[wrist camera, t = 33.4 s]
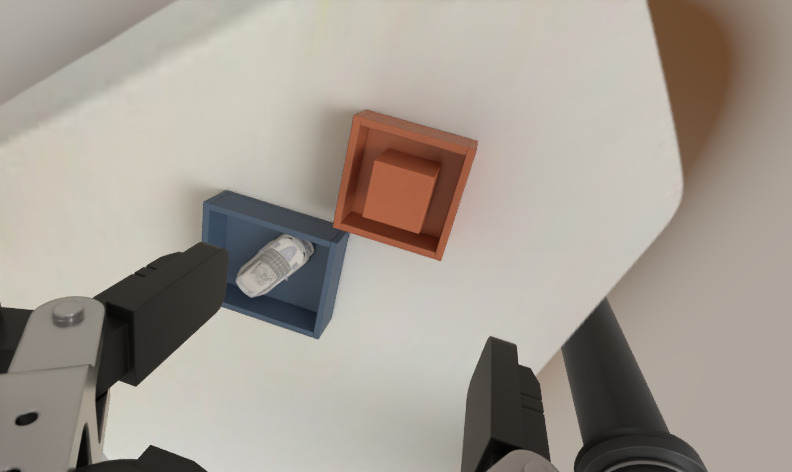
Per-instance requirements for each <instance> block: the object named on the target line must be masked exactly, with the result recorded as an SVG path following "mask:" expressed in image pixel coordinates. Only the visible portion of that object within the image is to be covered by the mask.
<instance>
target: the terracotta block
mask: <svg viewBox="0 0 792 472" xmlns="http://www.w3.org/2000/svg"><path fill="white" fill-rule="evenodd" d="M441 165H442V164H441V163H438V162H435V161H431V160H428V159H424V158H421V157H417V156H414V155H410V154H407V153H403V152H400V151H396V150H393V149H390V148H388V149H387V150H386V151H385V152H383V153H382V154H381V155H380V156H379V157H378V158H377V159H375V160H374V164H373V169H372V173H371V178H370V182H369V187H368V191H367V196H366V201H365V205H364V210H363V214H362V217H365V218H368V219H372V220H375V221H378V222H381V223H385V224H388V225H391V226H395V227H398V228H401V229H404V230H408V231H411V232H414V233H417V234H419V232H420V230H421V228H422V225H423V223H424V221H425V218H426V216H427V213H428V210H429V206H430V203H431V199H432V196H433V192H434V189H435V186H436V182H437V179H438V175H439V172H440V168H441Z"/></svg>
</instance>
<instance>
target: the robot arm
mask: <svg viewBox="0 0 792 472" xmlns="http://www.w3.org/2000/svg"><path fill="white" fill-rule="evenodd" d="M228 261H229V253H228V251H227V250H226V249H224V248H221V247H218V246H215V245H212V244H208V243H205V242H199V243H198V244H196V245H194V246H193V247H191V248H190V249H188V250H186V251H185V252H183V253H182V252H176V253H173V254H169V255H166V256H162V257H160V258H158V259H156V260H155V261H153V262H151V263H150V264H148V265H147V266H146V268H145V267H143V268H141V269H140V270H138V271H136V272H135V274H134V275H133V274H131V275H130V276H128V277H126V278H125V279H123V280H121V281H120V282H118V283H116V284H115V285H113V286H111V287H110V288H108V289H107V290H105V291H103V292H102V293H100V294H98V295H97V296H95V297H93V298H88V297H80V296H73V297H64V298H59V299H55V300H52V301H49V302H47V303H45V304H43V305H41V306H39V307H38V308H37V309H35V310H26V309H16V308H5V307H1V304H0V472H207V471H206V470H205V469H203V468H202V467H201V466H200V465H198V464H197V463H196V462H194V461H192V460H189V459H187V458H184V457H181V456H179V455H176V454H174V453H171V452H168V451H166V450H163V449H160V448H158V447H155V446H152V445H150V446H149V447H148V448H147V449H146V450H145V451H144V453H143V454H142V455H141V456H140V457H139V458H138V459H118V460H110V461H103V462H102V453H103V445H104V438H105V431H106V423H107V416H108V409H109V401H110V387H111V386H112V385H114V384H115V383H116V382H117V381H118V380H119V381H122V382H124V383H127V384H130V385H133V386H135V387H136V386H137V385H138V384H140V383H141V382H142V381H143V380H144V379H145V378H146V377H147V376H148V375H149V374H150V373H151V372H153V371H154V370H155V369H156V368H157V367H158V366H159V365H160V364H161V363H162V362H163V361H164V360H166V359H167V358H168V357H169V356H170V355H171V354H172V353H173V352H174V351H175V350H176V349H177V348H179V347H180V346H181V345H182V344H183V343H184V342H185V341H186V340H187V339H188V338H189V337H191V336H192V335H193V334H194V333H195V332H196V331H197V330H198V329H199V328H200V327H201V326H202V325H204V324H205V323H206V322H207V321H208V320H209V319H210V318H211V317H212V316H213V315H214V314H215V313H216V312H217V311H218V310H219V309H220V307H221V305H222V304H223V301H224V299H225V295H226V286H227V273H228ZM541 400H542V396H541V389H540V383H539V382H538V380H537V378H536V377H535V375H534V373H533V372H532V370H531V368H528V367H525V366H522V365H519V364H518V355H517V346H516V344H513V343H510V342H507V341H504V340H501V339H498V338H495V337H492V336H490V337H489V338H488V340H487V342H486V344H485V347H484V349H483V351H482V354H481V356H480V359H479V361H478V364H477V366H476V368H475V371H474V373H473V376H472V378H471V381H470V385H469V389H468V394H467V401H466V414H465V426H464V439H463V451H462V464H461V472H559V471H558V470H557V469H556V468H555V467H554V465H553V464H551V461H550V453H549V446H548V439H547V432H546V426H545V418H544V415H543V412H544V410H543V404H542V402H541ZM600 472H687V471H686V470H684V469H683V468H681V467H679V466H678V465H675V464H673V463H671V462H668V461H665V460H661V459H656V458H647V457H637V458H628V459H624V460H620V461H617V462H614V463H612V464H610V465H608V466H606V467H605V468H604V469H602V470H601V471H600Z"/></svg>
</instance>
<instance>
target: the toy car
mask: <svg viewBox="0 0 792 472" xmlns="http://www.w3.org/2000/svg"><path fill="white" fill-rule="evenodd" d="M313 252H314V248H313V245H312V244H311V242H310V241H307V240H304V239H300V238H297V237H294V236H291V235H288V234H285V233H282V234H280V235H279V236H278V237H277V238H276V239H275V240H272V241H270V242H269V243H268V244H267V245H266V246H264V247H263V248H262V249H261V250H259V252H258V254H257V255H255V256H254V257H252V258H251V259H250V260H249V261H247V262H246V263H245V264H244V265H243V266H242V267H241V268H240V270H239V273H238V275H237V278H236V283H237V285H238V286H239V288H240V289H241V290H242V291H243V292H244V293H245V294H246V295H248V296H249V297H251V298H253V297H255V296H260V295H263V294H266V293H268V292H269V291H271V290H272V289H273V288H274V287H275V286H276V285H277V284H278V283H280V282H281V281H282V280H284V279H286V281H287V280H288V278H287V277H289V276H290V275H292V274H293V273H294V272H296V271H297V270H298V269H299V268H301V267H303V266H304V265H305V264H306V263H307V262H308V261H309V260H310V259H311V258H310V256H311V255H312V254H313Z"/></svg>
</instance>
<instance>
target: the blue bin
mask: <svg viewBox="0 0 792 472" xmlns="http://www.w3.org/2000/svg"><path fill="white" fill-rule="evenodd" d="M282 233H285V234H288V235H291V236H294V237H297V238H300V239H304V240H307V241H310V242H311V244H312V245H313V248H314V252H313V254H312V255H311V256H310V258H311V259H310V260H309V261H308V262H307V263H306V264H305V265H304V266H303V267H301V268H299V269H298V270H297V271H296V272H294V273H293V274H292V275H290V276H289V277H287V278H288V280H287V281H286V279H284V280H282V281H281V282H280V283H278V284H277V285H276V286H275V287H274V288H273V289H272V290H271V291H269V292H268V293H266V294H263V295H260V296H255V297H253V298H251V297H249V296H248V295H246V294H245V293H244V292H243V291H242V290H241V289H240V288H239V286H238V285H237V283H236V278H237V275H238V273H239V270H240V268H241V267H242V266H243V265H244V264H245V263H246V262H247V261H249V260H250V259H251V258H252V257H254V256H255V255H257V254H258V252H259V250H261V249H262V248H263V247H264V246H266V245H267V244H268V243H269V242H270V241H272V240H275V239H276V238H277V237H278V236H279V235H280V234H282ZM348 236H349V232H346V231H343V230H340V229H337V228H333V223H330V222H327V221H323V220H320V219H317V218H314V217H311V216H307V215H304V214H301V213H298V212H294V211H291V210H288V209H285V208H282V207H278V206H275V205H272V204H269V203H266V202H262V201H259V200H256V199H253V198H250V197H246V196H243V195H240V194H237V193H233V192H230V191H227V190H226V191H224V192H222V193H220V194H218V195H216V196H214V197H212V198H210V199H208V200H206V201H204V202H203V223H202V242H205V243H208V244H212V245H215V246H218V247H221V248H224V249H226V250H227V251H228V253H229V261H228V273H227V286H226V295H225V299H224V301H223V304H222V305H221V307H224V308H227V309H230V310H233V311H236V312H239V313H242V314H245V315H247V316H250V317H253V318H256V319H259V320H262V321H265V322H268V323H271V324H274V325H277V326H280V327H283V328H286V329H289V330H292V331H295V332H298V333H301V334H303V335H306V336H309V337H313V338H315V339H319V338H320V336H321V334H322V333H323V331H324V330H325V328H326V326H327V325H328V323H329V321H330V320H331V317H332V313H333V308H334V303H335V298H336V294H337V289H338V284H339V279H340V275H341V270H342V265H343V260H344V255H345V251H346V246H347V241H348Z"/></svg>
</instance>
